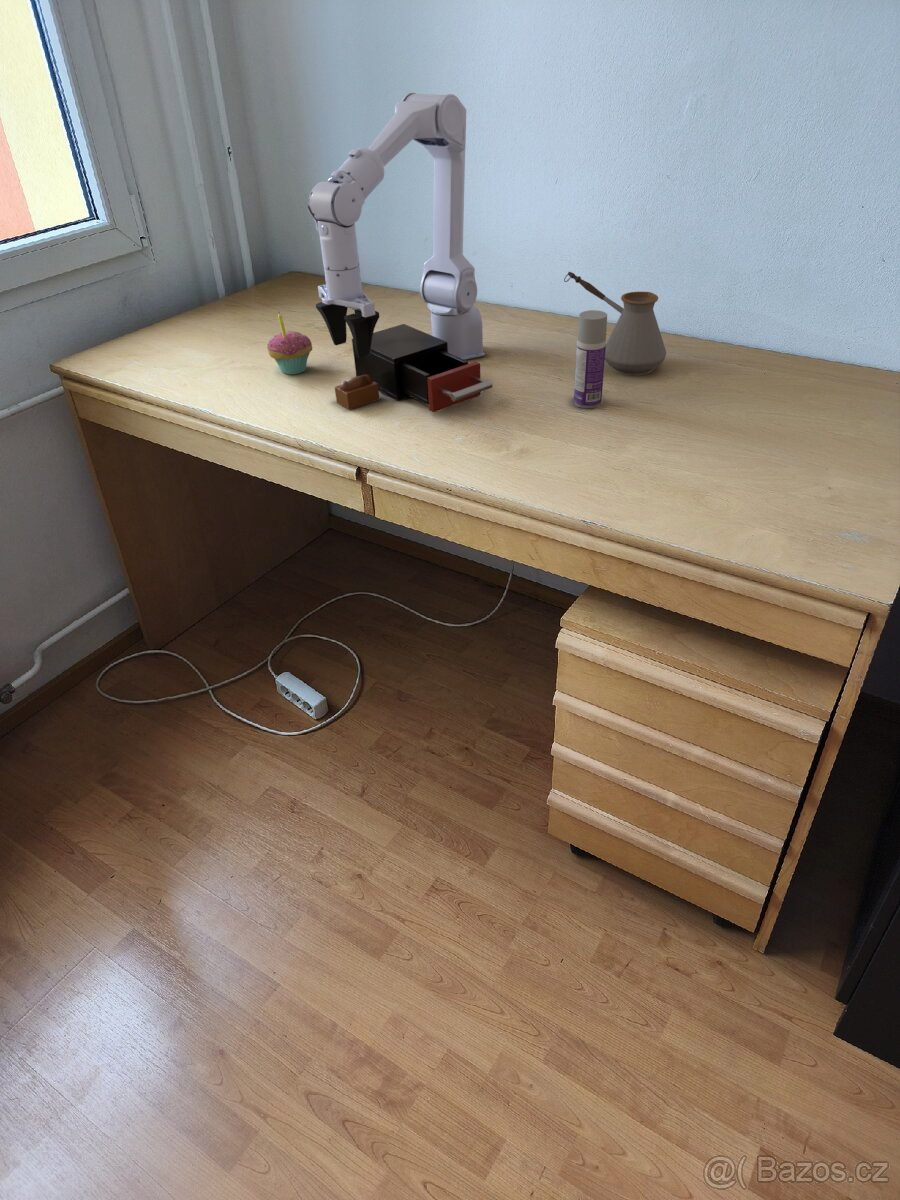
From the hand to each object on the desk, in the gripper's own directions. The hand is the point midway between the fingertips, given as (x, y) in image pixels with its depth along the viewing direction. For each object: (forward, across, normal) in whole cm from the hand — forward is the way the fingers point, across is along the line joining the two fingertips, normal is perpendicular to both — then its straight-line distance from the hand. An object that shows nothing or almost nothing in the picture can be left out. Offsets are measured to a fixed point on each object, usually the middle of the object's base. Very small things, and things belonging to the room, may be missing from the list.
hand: (351, 349), depth 136 cm
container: (+10, +28, +29) cm, 41 cm away
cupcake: (+10, -21, -1) cm, 23 cm away
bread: (+9, 0, 0) cm, 9 cm away
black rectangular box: (+9, -2, +11) cm, 15 cm away
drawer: (+8, +11, +11) cm, 18 cm away
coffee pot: (+10, +18, +45) cm, 49 cm away
